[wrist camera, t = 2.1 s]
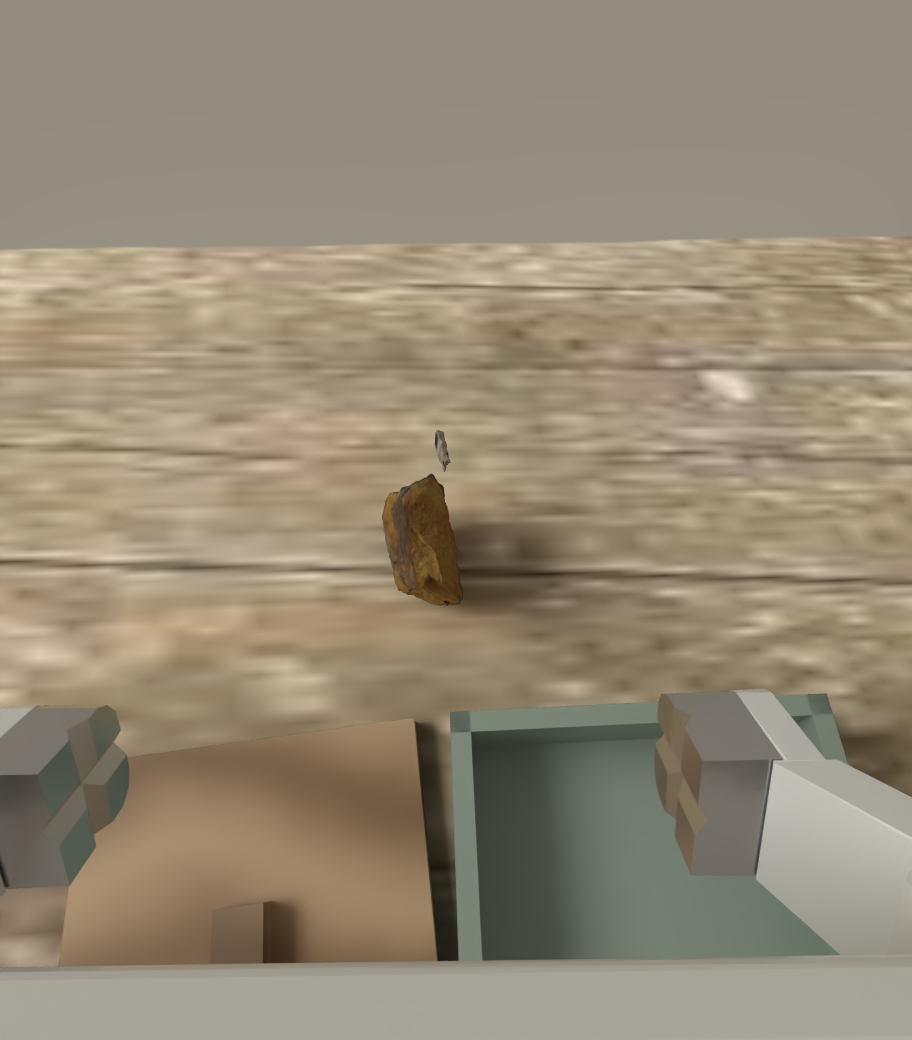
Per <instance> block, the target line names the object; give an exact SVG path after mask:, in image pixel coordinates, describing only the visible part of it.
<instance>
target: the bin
mask: <svg viewBox="0 0 912 1040" xmlns="http://www.w3.org/2000/svg"><path fill="white" fill-rule="evenodd" d="M775 697H776V699H777V700H778V701H779V702H780V704H781V705H782V706H783V707H784V708H785V710H786V711H787V712H788V713H789V715H790V716H791V717H792V718H793V720H794V721H795V722H796V723H797V725H798V726H799V727H800V728H801V729H802V731H803V732H804V733H805V734H806V736H807V737H808V738H809V739H810V741H811V742H812V743H813V744H814V745H815V747H816V748H817V749H818V750H819V752H820V753H821V754H822V755H823V757H824V758H825V759H826V760H836V759H837V760H839V761H841V762H843V763H845V764H847V765H848V762H847V759H846V756H845V753H844V749H843V746H842V743H841V739H840V736H839V733H838V730H837V726H836V723H835V720H834V716H833V713H832V710H831V707H830V703H829V700H828V697H827V694H808V695H788V696H775ZM658 703H659V702H645V703H624V704H604V705H583V706H563V707H542V708H522V709H501V710H481V711H461V712H450V728H451V756H452V784H453V812H454V840H455V868H456V896H457V924H458V953H459V961H489V960H556V959H624V958H691V957H758V956H826V955H840V954H839V953H838V952H837V951H835V950H834V949H833V948H832V947H831V946H830V945H829V944H828V943H827V942H825V941H824V940H823V939H822V938H821V937H820V936H819V935H818V934H816V933H815V932H814V931H813V930H812V929H811V928H810V927H809V926H807V925H806V924H805V923H804V922H803V921H802V920H801V919H800V918H799V917H797V916H796V915H795V914H794V913H793V912H792V911H791V910H790V909H788V908H787V907H786V906H785V905H784V904H783V903H782V902H781V901H780V900H778V899H777V898H776V897H775V896H774V895H773V894H772V893H771V892H769V891H768V890H767V889H766V888H765V887H764V886H763V885H762V884H760V883H759V882H758V881H757V880H756V876H693V875H690V872H689V870H688V867H687V865H686V862H685V860H684V858H683V855H682V853H681V850H680V848H679V845H678V843H677V841H676V838H675V825H676V819H674V818H673V817H672V816H670V815H669V814H668V813H666V812H665V810H664V808H663V805H662V803H661V800H660V797H659V793H658V789H657V785H656V778H655V768H654V755H655V744H656V743H657V741H658V740H659V739H660V738H661V737H662V736H663V735H664V733H663V731H662V728H661V726H660V724H659V722H658V720H657V713H658Z"/></svg>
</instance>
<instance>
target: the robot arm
mask: <svg viewBox="0 0 912 1040" xmlns="http://www.w3.org/2000/svg"><path fill="white" fill-rule="evenodd" d="M657 720H658V722H659V724H660V726H661V728H662V731H663V733H664V735H663V736H662V737H661V738H660V739H659V740H658V741H657V743H656V744H655V755H654V768H655V778H656V785H657V789H658V793H659V797H660V800H661V803H662V805H663V808H664V810H665V812H666V813H668V814H669V815H670V816H672V817H673V818H674V819H676V825H675V838H676V841H677V843H678V845H679V848H680V850H681V853H682V855H683V858H684V860H685V862H686V865H687V867H688V870H689V872H690V875H693V876H756V880H757V881H758V882H759V883H760V884H762V885H763V886H764V887H765V888H766V889H767V890H768V891H769V892H771V893H772V894H773V895H774V896H775V897H776V898H777V899H778V900H780V901H781V902H782V903H783V904H784V905H785V906H786V907H787V908H788V909H790V910H791V911H792V912H793V913H794V914H795V915H796V916H797V917H799V918H800V919H801V920H802V921H803V922H804V923H805V924H806V925H807V926H809V927H810V928H811V929H812V930H813V931H814V932H815V933H816V934H818V935H819V936H820V937H821V938H822V939H823V940H824V941H825V942H827V943H828V944H829V945H830V946H831V947H832V948H833V949H834V950H835V951H837V952H838V953H839V954H840V955H826V956H758V957H691V958H624V959H556V960H489V961H414V962H337V963H260V964H186V965H124V966H62V967H0V1040H912V797H910V796H908V795H906V794H904V793H902V792H900V791H898V790H896V789H894V788H892V787H890V786H888V785H886V784H884V783H882V782H881V781H879V780H877V779H875V778H873V777H871V776H869V775H867V774H865V773H863V772H861V771H859V770H857V769H855V768H853V767H851V766H849V765H847V764H845V763H843V762H841V761H839V760H837V759H836V760H826V759H825V758H824V757H823V755H822V754H821V753H820V752H819V750H818V749H817V748H816V747H815V745H814V744H813V743H812V742H811V741H810V739H809V738H808V737H807V736H806V734H805V733H804V732H803V731H802V729H801V728H800V727H799V726H798V725H797V723H796V722H795V721H794V720H793V718H792V717H791V716H790V715H789V713H788V712H787V711H786V710H785V708H784V707H783V706H782V705H781V704H780V702H779V701H778V700H777V699H776V697H775V696H774V695H773V694H772V693H771V692H770V691H768V690H766V689H750V690H733V691H722V692H698V693H675V694H661V696H660V700H659V703H658V713H657ZM120 730H121V729H120V725H119V722H118V718H117V715H116V711H115V710H113V709H112V708H110V707H109V706H107V705H43V706H39V705H27V706H9V707H5V708H0V897H1V896H2V895H3V894H4V893H6V889H14V888H35V887H57V886H70V885H71V883H72V882H73V880H74V879H75V877H76V876H77V874H78V873H79V871H80V870H81V869H82V867H83V866H84V864H85V863H86V861H87V860H88V858H89V857H90V855H91V854H92V852H93V851H94V849H95V848H96V841H95V836H94V834H95V833H97V832H98V831H100V830H101V829H103V828H104V827H106V826H107V825H109V824H110V823H112V822H113V821H114V820H115V818H116V817H117V815H118V813H119V812H120V810H121V809H122V807H123V805H124V802H125V799H126V795H127V792H128V788H129V775H130V769H129V764H128V759H127V755H126V754H125V753H124V752H123V751H122V750H121V749H120V748H119V747H118V746H116V745H115V744H114V743H113V742H114V741H115V739H116V737H117V736H118V734H119V732H120Z"/></svg>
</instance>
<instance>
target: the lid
mask: <svg viewBox="0 0 912 1040" xmlns="http://www.w3.org/2000/svg"><path fill="white" fill-rule="evenodd" d="M127 759H128V764H129V769H130V775H129V788H128V792H127V795H126V799H125V802H124V805H123V807H122V809H121V810H120V812H119V813H118V815H117V817H116V818H115V820H114V821H113V822H112V823H110V824H109V825H107V826H106V827H104V828H103V829H101V830H100V831H98V832H97V833H95V834H94V836H95V841H96V848H95V849H94V851H93V852H92V854H91V855H90V857H89V858H88V860H87V861H86V863H85V864H84V866H83V867H82V869H81V870H80V871H79V873H78V874H77V876H76V877H75V879H74V880H73V882H72V883H71V885H70V886H69V891H68V898H67V906H66V913H65V921H64V928H63V936H62V944H61V951H60V959H59V966H58V967H62V966H124V965H186V964H260V963H337V962H414V961H439V956H438V946H437V936H436V925H435V915H434V905H433V894H432V884H431V874H430V863H429V853H428V843H427V832H426V822H425V812H424V801H423V791H422V780H421V770H420V760H419V749H418V739H417V729H416V721H415V719H414V718H409V719H402V720H395V721H388V722H381V723H374V724H366V725H359V726H352V727H345V728H338V729H330V730H323V731H316V732H309V733H302V734H294V735H287V736H280V737H273V738H266V739H258V740H251V741H244V742H237V743H230V744H222V745H215V746H208V747H201V748H194V749H186V750H179V751H172V752H165V753H158V754H150V755H143V756H136V757H129V758H127Z"/></svg>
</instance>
